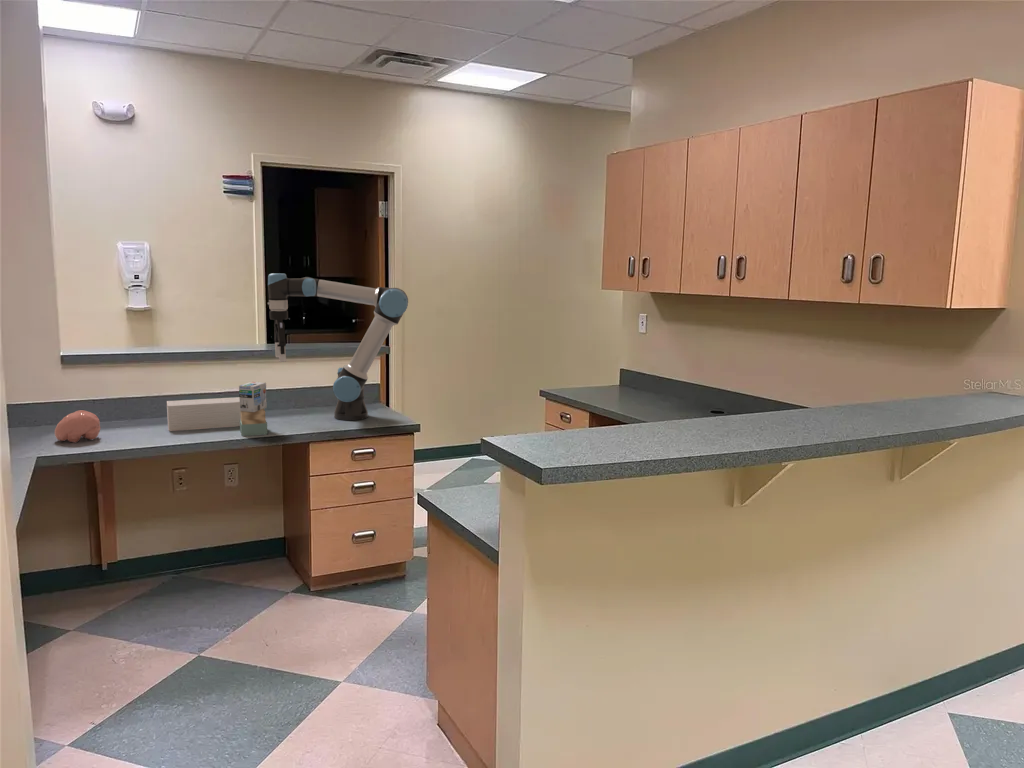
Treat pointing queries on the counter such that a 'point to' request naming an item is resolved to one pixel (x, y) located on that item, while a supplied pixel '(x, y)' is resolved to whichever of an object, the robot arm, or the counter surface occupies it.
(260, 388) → the light bulb box
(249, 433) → the tower base slab
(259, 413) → the tower top block
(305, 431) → the counter surface
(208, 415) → the pale grey long block
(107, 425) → the counter surface
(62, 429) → the brain
